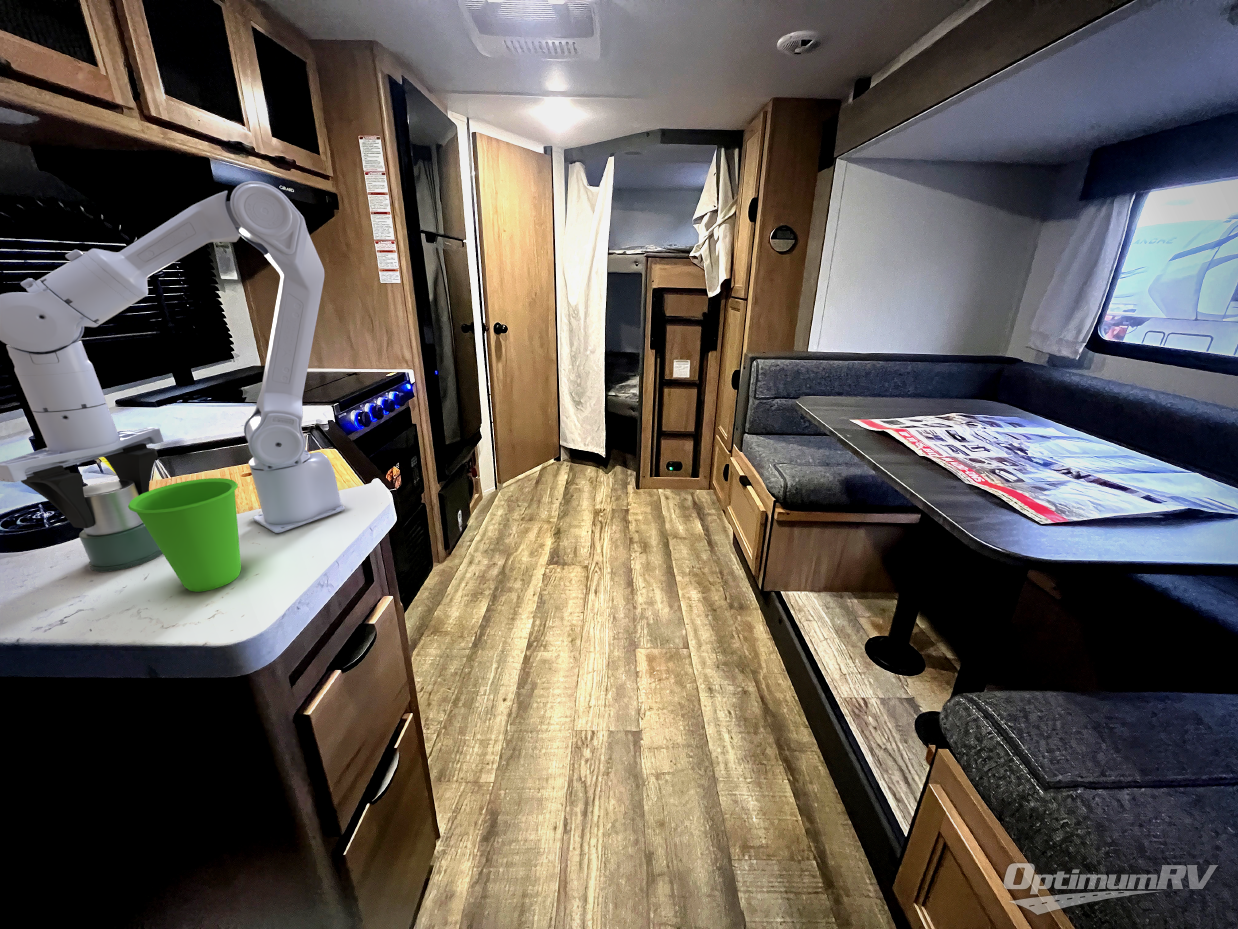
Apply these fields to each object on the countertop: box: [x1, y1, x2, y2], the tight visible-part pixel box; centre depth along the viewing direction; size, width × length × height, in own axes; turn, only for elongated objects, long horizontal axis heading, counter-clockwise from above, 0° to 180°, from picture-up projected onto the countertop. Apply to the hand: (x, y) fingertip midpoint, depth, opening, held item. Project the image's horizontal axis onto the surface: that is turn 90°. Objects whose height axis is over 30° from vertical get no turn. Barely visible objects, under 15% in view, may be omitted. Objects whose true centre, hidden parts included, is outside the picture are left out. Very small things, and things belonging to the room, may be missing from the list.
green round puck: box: [78, 523, 163, 573], centre depth 59 cm, size 7×7×4 cm
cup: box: [128, 477, 242, 593], centre depth 54 cm, size 9×9×11 cm
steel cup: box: [83, 479, 143, 536], centre depth 58 cm, size 5×5×5 cm
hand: (113, 515), depth 58 cm, fingers closed on steel cup, 5 cm apart
